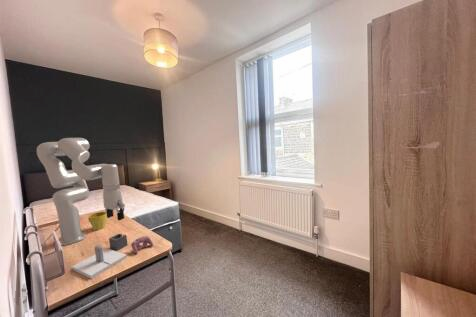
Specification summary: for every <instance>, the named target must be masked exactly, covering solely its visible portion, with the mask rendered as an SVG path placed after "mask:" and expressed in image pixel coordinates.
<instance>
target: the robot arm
mask: <svg viewBox="0 0 476 317" xmlns="http://www.w3.org/2000/svg"><path fill="white" fill-rule="evenodd" d="M90 146H91V145H90V143H89V141H88V140H87V139H86V138H83V137H65V138H64V137H63V138H61V139H59V140H58V141H48V142H42V143H40V144H39V145H38V146H37V147H36V155H37V157H38V160H39V162H40V163H41V164H42V165H43V167H44V169H45V171H46V174H47V178H48V180H49V182H50V184H51V186H52V188H54V189H60V190H58V191H56V192H54V193H53V195H52V201H53V204H54V206H55V209H56V213H57V214H56V215H57V219H58V227H59V234H60V238H61V239H59V241H60V243H61V244H62V245H61V246H67V245H73V244H75V243H78V242H80V241H82V240H84V239H85V238H86V234H85V233H84V232H82V226H81V220H80V213H79V209H78V207H77V206H75V205H74V204H75V203H79V202H82V201H85V200H87V199H88V198H89V196H90V189H89V187H88V184H87V182H86V181H93V180H97V179H101V181H102V182H101V183H102V189H103V193H102V199H103V207H104V209H105V212H106V213H107V218H106V219H109V218H112V217H114V211H116V212H117V213H116V219H117V221H122V220H123V219H125V206H126V205H125V204H124V202H123V197H122V196H123V195H122V192H121V184H120V177H119V169H118V165H117V164H116V163H110V164H108V163H99V164H97V163H96V164H91V165H90V164H89V165H85V164H84V163H85V162H86V161H88V160H89V158H90V156H91V155H90V154H91V153H90V152H89V149H90ZM64 156H66V157H68V158H69V159H70V160H71V169H68V170H67V168H66V166H65V164H64V162H63V161H62V160H61V159H60V158H57V157H64ZM67 187H69V188H67ZM61 188H64V189H61Z"/></svg>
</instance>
